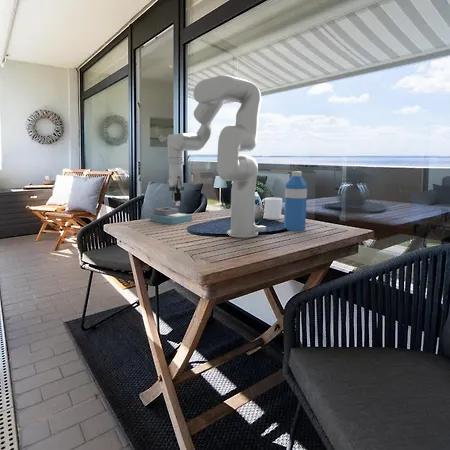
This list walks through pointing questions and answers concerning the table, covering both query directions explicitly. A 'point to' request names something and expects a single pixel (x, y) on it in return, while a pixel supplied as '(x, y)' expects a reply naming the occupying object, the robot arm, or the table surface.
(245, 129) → the robot arm
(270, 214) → the mug
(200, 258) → the table surface
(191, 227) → the table surface
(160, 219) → the drill base
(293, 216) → the water bottle
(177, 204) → the chuck key
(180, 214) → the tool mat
